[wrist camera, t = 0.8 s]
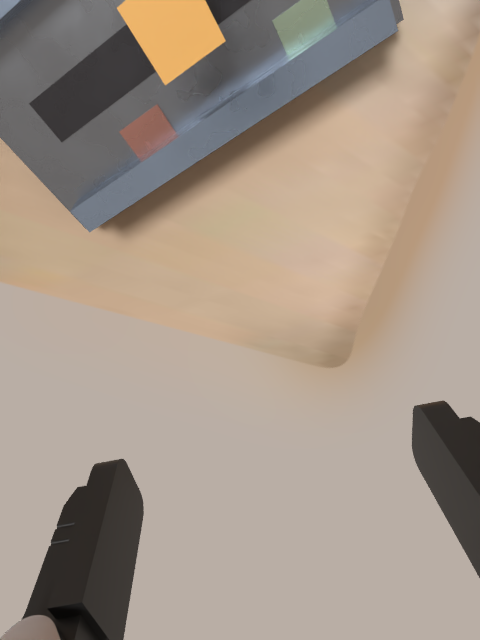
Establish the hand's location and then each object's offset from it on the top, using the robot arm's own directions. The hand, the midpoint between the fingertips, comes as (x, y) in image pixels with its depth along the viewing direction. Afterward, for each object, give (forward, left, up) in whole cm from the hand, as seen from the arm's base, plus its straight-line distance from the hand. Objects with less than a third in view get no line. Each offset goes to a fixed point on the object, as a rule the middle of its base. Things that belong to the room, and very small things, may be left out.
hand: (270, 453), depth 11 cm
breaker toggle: (-9, +2, -21) cm, 23 cm away
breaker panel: (-9, +1, -24) cm, 25 cm away
